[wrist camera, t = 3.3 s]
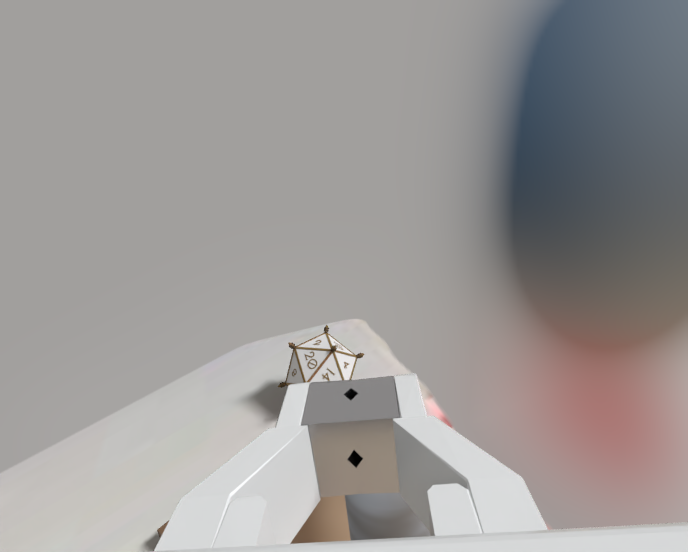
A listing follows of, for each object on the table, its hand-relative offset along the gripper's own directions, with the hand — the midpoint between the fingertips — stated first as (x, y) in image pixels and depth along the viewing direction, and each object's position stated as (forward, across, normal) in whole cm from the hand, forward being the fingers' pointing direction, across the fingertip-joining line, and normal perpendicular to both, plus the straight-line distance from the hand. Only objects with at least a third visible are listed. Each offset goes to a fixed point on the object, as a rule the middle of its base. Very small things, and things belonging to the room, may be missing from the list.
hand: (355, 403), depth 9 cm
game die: (+30, +6, +21) cm, 37 cm away
